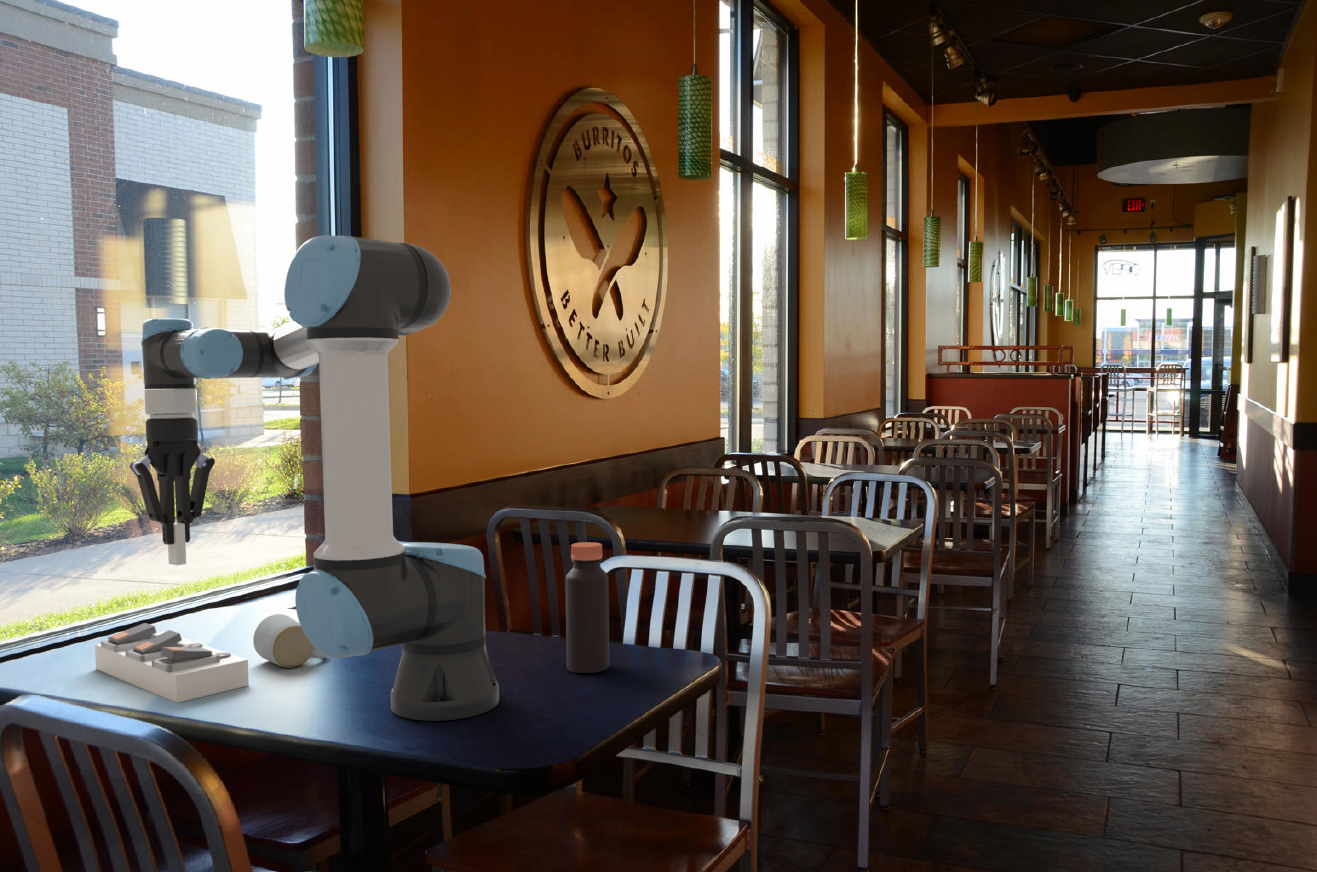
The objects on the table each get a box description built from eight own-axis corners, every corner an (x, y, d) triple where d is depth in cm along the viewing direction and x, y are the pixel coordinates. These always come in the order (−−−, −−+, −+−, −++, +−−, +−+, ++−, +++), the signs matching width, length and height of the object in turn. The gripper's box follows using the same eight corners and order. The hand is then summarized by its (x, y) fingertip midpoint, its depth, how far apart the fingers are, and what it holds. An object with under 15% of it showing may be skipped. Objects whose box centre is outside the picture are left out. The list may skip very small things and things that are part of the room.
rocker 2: (210, 659, 159) (212, 650, 159) (171, 659, 155) (173, 650, 155) (199, 655, 161) (201, 646, 162) (160, 655, 157) (162, 646, 157)
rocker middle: (182, 640, 165) (179, 632, 165) (145, 658, 161) (142, 651, 160) (171, 636, 167) (169, 629, 167) (134, 654, 163) (132, 647, 163)
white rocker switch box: (248, 685, 161) (247, 653, 160) (176, 702, 152) (175, 669, 152) (164, 654, 179) (163, 626, 178) (96, 668, 170) (94, 638, 170)
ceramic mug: (274, 673, 167) (273, 625, 167) (252, 663, 173) (252, 617, 172) (336, 661, 174) (336, 615, 174) (313, 652, 180) (313, 608, 180)
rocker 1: (156, 632, 171) (154, 625, 170) (119, 647, 166) (117, 640, 166) (146, 629, 173) (144, 622, 173) (109, 644, 169) (107, 636, 168)
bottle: (608, 674, 165) (607, 547, 164) (565, 675, 165) (563, 548, 164) (610, 662, 172) (608, 540, 170) (568, 663, 172) (566, 541, 170)
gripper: (199, 414, 175) (204, 556, 176) (118, 417, 165) (125, 567, 166) (222, 415, 170) (228, 560, 171) (141, 418, 160) (147, 572, 161)
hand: (177, 563), depth 169 cm, fingers closed
